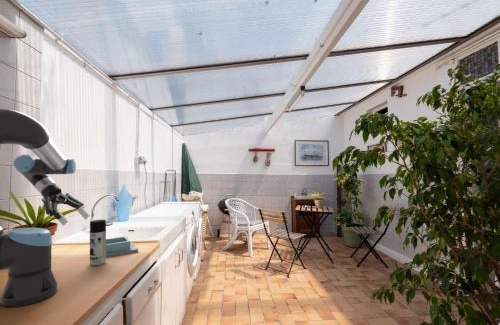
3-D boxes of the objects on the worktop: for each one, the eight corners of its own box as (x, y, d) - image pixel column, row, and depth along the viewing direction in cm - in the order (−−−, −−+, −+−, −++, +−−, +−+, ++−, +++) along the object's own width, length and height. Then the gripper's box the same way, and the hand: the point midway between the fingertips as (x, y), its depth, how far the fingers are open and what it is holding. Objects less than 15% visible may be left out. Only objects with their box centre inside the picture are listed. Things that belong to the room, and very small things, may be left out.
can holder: (94, 259, 129) (94, 248, 130) (92, 249, 146) (92, 239, 146) (138, 251, 141) (138, 241, 141) (131, 243, 157) (131, 234, 157)
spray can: (86, 264, 123) (86, 221, 123) (100, 260, 129) (100, 218, 129) (95, 266, 120) (95, 222, 120) (109, 262, 126) (109, 219, 126)
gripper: (64, 192, 141) (90, 220, 139) (18, 197, 116) (49, 232, 114) (73, 182, 140) (100, 210, 138) (29, 185, 115) (60, 219, 113)
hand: (77, 220), depth 126 cm, fingers open, 13 cm apart
